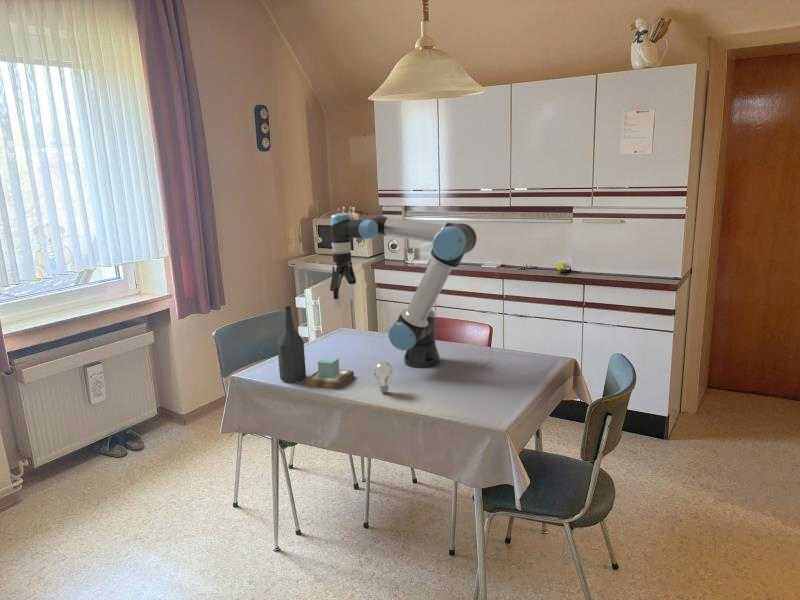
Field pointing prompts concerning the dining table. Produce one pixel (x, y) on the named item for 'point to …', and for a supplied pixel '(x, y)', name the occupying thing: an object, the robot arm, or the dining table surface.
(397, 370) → the dining table surface
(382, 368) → the light bulb
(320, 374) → the cube
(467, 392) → the dining table surface
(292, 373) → the bottle
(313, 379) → the picture frame
